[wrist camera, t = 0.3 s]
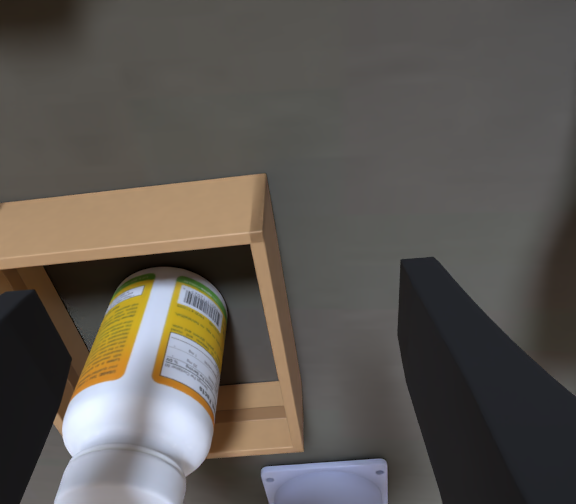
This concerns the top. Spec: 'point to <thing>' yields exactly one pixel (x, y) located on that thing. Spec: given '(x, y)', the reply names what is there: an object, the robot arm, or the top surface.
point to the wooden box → (162, 239)
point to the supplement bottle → (146, 392)
